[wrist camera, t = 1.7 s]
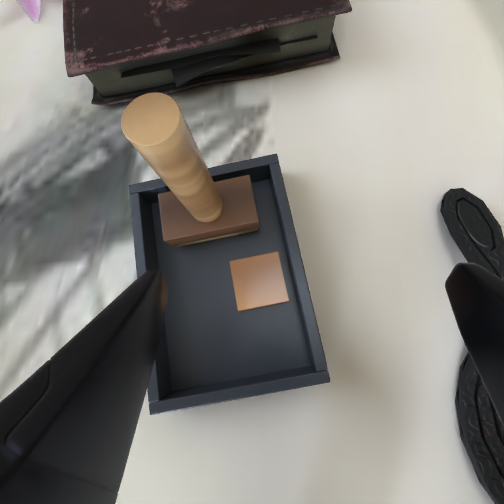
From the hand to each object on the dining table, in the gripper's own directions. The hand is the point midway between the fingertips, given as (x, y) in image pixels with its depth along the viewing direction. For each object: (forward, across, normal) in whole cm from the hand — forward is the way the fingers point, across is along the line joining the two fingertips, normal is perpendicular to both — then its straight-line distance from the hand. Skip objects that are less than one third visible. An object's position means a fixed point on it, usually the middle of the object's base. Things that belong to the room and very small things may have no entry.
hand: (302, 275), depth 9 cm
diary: (+33, +7, -5) cm, 34 cm away
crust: (+9, +2, +11) cm, 14 cm away
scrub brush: (+14, +6, +8) cm, 17 cm away
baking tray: (+10, +5, +11) cm, 16 cm away
